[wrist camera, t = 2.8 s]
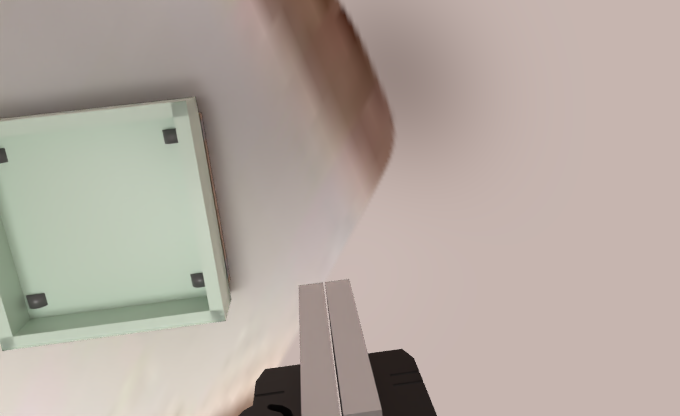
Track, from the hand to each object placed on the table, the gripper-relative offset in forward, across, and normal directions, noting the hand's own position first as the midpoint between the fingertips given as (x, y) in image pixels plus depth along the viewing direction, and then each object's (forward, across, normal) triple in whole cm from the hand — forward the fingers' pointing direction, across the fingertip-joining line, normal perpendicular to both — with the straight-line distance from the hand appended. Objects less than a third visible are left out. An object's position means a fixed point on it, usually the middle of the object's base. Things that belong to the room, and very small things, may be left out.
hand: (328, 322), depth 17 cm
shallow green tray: (+18, -12, 0) cm, 22 cm away
